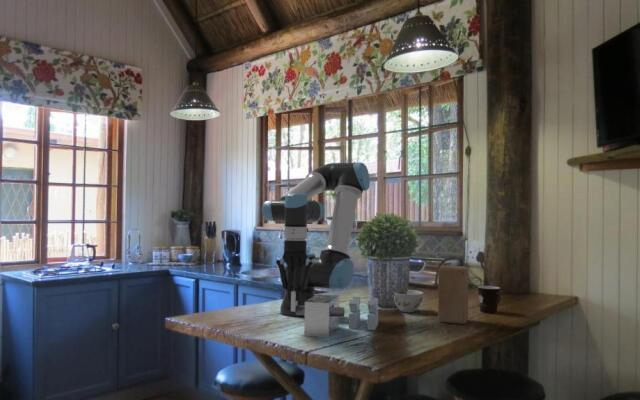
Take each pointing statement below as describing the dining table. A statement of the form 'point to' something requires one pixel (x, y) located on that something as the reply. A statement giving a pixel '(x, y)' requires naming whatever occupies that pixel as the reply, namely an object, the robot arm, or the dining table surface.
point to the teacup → (408, 300)
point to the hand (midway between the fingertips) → (294, 310)
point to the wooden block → (453, 294)
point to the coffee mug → (488, 298)
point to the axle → (334, 311)
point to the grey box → (321, 315)
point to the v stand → (355, 313)
